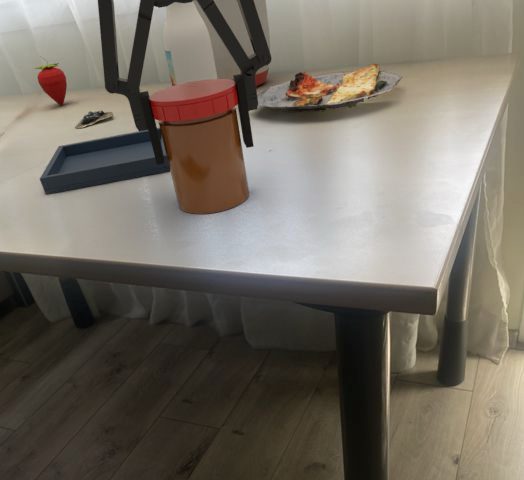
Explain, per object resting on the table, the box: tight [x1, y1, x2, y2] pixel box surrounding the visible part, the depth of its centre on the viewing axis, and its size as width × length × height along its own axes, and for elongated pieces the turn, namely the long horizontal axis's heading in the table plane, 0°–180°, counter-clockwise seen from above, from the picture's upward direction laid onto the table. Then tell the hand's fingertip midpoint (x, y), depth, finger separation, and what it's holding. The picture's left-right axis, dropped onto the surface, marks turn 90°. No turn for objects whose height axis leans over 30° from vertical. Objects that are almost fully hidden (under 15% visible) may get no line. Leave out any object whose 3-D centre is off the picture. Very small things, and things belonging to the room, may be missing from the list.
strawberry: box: [34, 55, 68, 106], centre depth 116 cm, size 6×8×10 cm
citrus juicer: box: [193, 0, 271, 88], centre depth 103 cm, size 16×17×20 cm
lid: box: [149, 79, 239, 122], centre depth 53 cm, size 9×9×2 cm
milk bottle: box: [162, 1, 218, 86], centre depth 86 cm, size 8×8×20 cm
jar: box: [158, 106, 250, 215], centre depth 56 cm, size 8×8×10 cm
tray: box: [39, 127, 170, 195], centre depth 75 cm, size 17×16×2 cm
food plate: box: [257, 63, 404, 113], centre depth 87 cm, size 25×23×4 cm
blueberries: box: [74, 110, 114, 129], centre depth 100 cm, size 7×8×2 cm
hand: (204, 152), depth 56 cm, fingers closed on lid, 9 cm apart
